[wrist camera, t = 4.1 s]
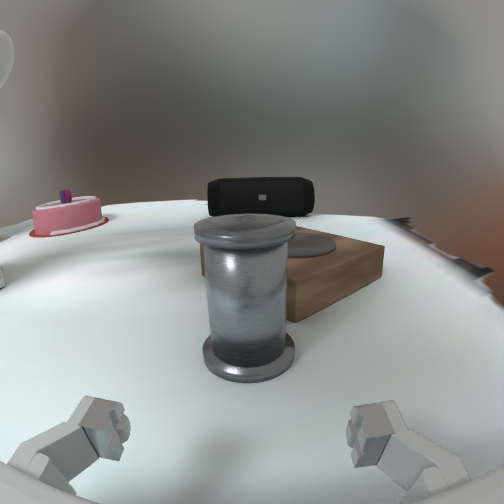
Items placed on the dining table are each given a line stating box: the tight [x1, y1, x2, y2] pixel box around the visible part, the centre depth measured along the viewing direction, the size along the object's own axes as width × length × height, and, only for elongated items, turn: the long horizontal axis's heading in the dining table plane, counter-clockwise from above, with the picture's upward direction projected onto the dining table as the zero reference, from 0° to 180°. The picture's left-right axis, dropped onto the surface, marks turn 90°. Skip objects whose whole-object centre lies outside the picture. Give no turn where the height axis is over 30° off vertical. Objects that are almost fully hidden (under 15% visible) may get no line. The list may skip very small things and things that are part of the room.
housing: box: [194, 214, 296, 383], centre depth 21 cm, size 7×7×10 cm
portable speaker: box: [208, 177, 315, 217], centre depth 76 cm, size 26×10×10 cm, turn 94°
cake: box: [29, 190, 109, 237], centre depth 75 cm, size 25×25×11 cm
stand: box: [200, 226, 385, 323], centre depth 37 cm, size 16×16×4 cm
